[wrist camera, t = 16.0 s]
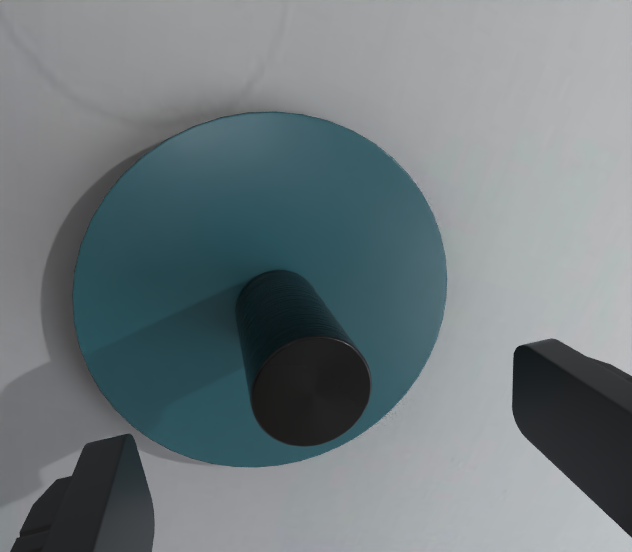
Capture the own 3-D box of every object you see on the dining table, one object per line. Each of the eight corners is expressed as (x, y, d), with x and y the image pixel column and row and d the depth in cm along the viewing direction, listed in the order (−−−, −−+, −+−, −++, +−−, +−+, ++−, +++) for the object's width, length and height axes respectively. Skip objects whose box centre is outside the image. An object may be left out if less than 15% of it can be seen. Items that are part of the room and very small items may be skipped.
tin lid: (131, 485, 18) (91, 675, 12) (28, 137, 14) (-124, 133, 7) (438, 409, 21) (544, 531, 14) (428, 94, 16) (573, 64, 10)
